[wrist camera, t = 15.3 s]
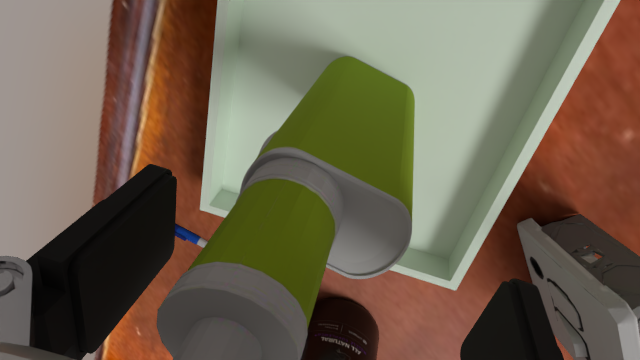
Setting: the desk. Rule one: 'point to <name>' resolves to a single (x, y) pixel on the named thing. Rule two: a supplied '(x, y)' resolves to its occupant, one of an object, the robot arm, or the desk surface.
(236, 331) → the vape
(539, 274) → the electrical switch
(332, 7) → the parts tray
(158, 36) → the desk surface
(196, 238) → the ballpoint pen
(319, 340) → the supplement bottle
